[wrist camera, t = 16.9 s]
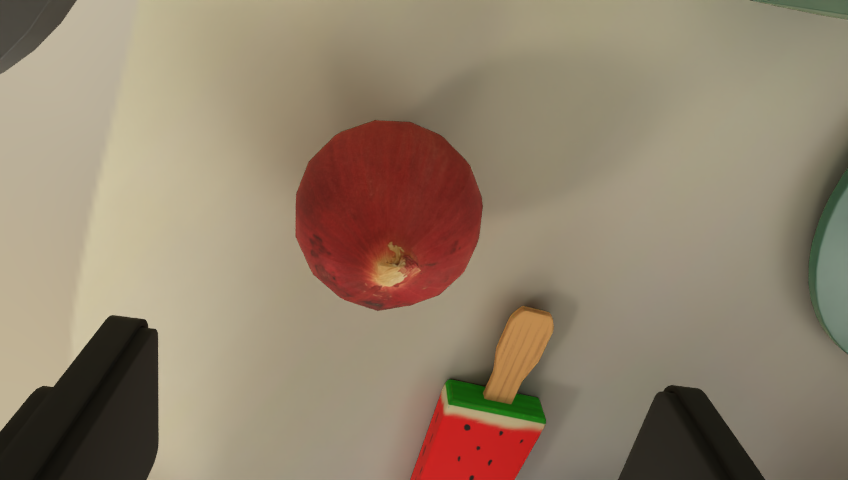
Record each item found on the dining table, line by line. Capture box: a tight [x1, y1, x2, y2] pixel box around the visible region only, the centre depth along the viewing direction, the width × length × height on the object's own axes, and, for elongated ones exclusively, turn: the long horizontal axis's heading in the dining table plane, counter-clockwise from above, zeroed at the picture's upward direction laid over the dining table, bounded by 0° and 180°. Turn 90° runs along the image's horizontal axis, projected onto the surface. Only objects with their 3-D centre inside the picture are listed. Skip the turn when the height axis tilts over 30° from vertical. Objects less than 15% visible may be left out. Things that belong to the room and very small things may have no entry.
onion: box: [296, 120, 483, 311], centre depth 19 cm, size 6×6×8 cm
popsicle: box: [410, 306, 554, 480], centre depth 27 cm, size 4×2×15 cm
